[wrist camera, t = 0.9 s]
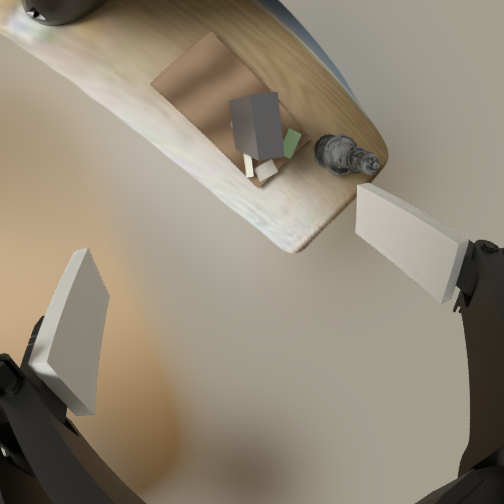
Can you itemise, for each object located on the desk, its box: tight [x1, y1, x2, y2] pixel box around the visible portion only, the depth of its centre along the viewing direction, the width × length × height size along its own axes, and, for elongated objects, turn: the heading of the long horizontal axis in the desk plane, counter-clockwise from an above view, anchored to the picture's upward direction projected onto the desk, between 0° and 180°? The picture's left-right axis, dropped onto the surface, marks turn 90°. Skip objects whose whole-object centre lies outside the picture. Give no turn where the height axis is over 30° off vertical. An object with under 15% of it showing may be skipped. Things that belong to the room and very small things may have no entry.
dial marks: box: [254, 128, 301, 182], centre depth 37 cm, size 3×9×1 cm, turn 139°
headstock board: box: [150, 32, 309, 188], centre depth 33 cm, size 20×10×2 cm, turn 43°
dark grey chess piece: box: [314, 134, 380, 175], centre depth 35 cm, size 6×6×12 cm
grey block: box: [229, 92, 285, 177], centre depth 30 cm, size 10×3×10 cm, turn 8°
